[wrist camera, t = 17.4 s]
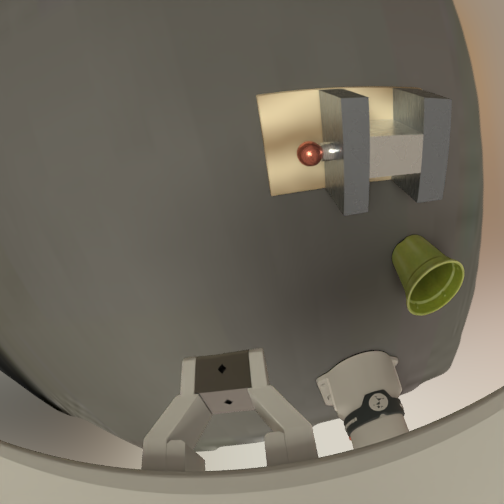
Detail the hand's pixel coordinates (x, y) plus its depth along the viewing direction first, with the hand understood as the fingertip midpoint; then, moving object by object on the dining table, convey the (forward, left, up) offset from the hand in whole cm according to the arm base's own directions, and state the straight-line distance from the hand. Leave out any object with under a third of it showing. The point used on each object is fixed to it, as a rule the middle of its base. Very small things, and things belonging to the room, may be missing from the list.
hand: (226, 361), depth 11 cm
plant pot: (-18, -24, -24) cm, 39 cm away
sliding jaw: (0, -10, -23) cm, 25 cm away
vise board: (0, -14, -24) cm, 28 cm away
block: (0, -16, -23) cm, 28 cm away
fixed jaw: (0, -21, -23) cm, 31 cm away
